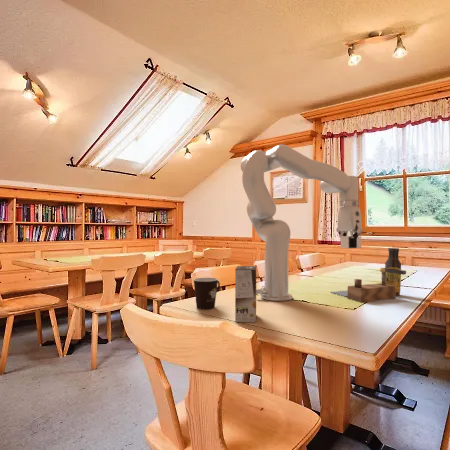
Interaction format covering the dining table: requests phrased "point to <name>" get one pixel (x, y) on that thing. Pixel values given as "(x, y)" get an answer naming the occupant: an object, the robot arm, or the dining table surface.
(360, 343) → the dining table surface
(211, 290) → the coffee mug
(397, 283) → the sauce bottle
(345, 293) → the felt pad
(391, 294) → the body
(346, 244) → the lever cap
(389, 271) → the lever
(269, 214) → the robot arm
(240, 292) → the coffee box
